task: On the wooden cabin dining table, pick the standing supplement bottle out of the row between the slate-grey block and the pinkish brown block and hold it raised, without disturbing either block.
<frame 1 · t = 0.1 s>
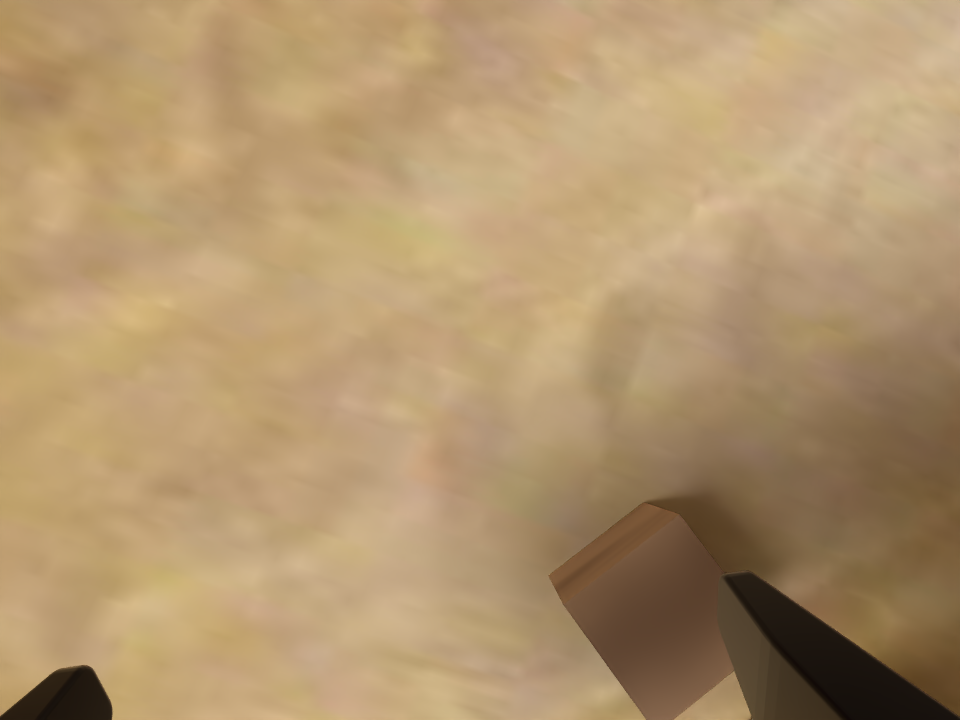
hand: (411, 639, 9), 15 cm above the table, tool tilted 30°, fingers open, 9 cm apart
pinkish brown block: (633, 588, 24), on the table
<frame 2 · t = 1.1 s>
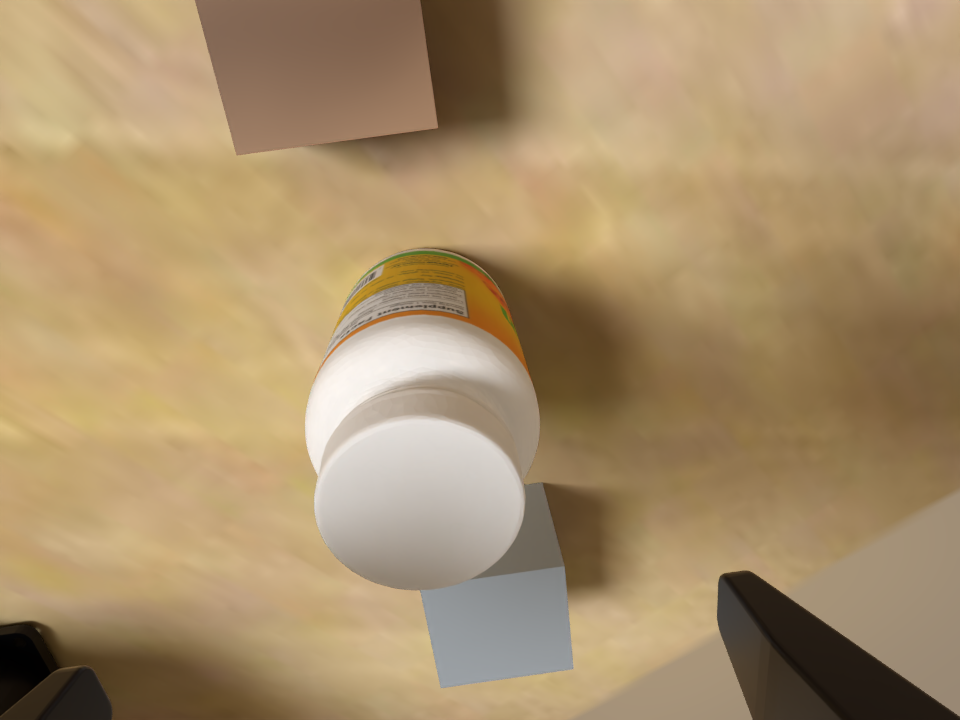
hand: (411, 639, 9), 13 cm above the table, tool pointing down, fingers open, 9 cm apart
supplement bottle: (427, 323, 21), on the table
pinkish brown block: (342, 40, 17), on the table
slate block: (489, 537, 24), on the table
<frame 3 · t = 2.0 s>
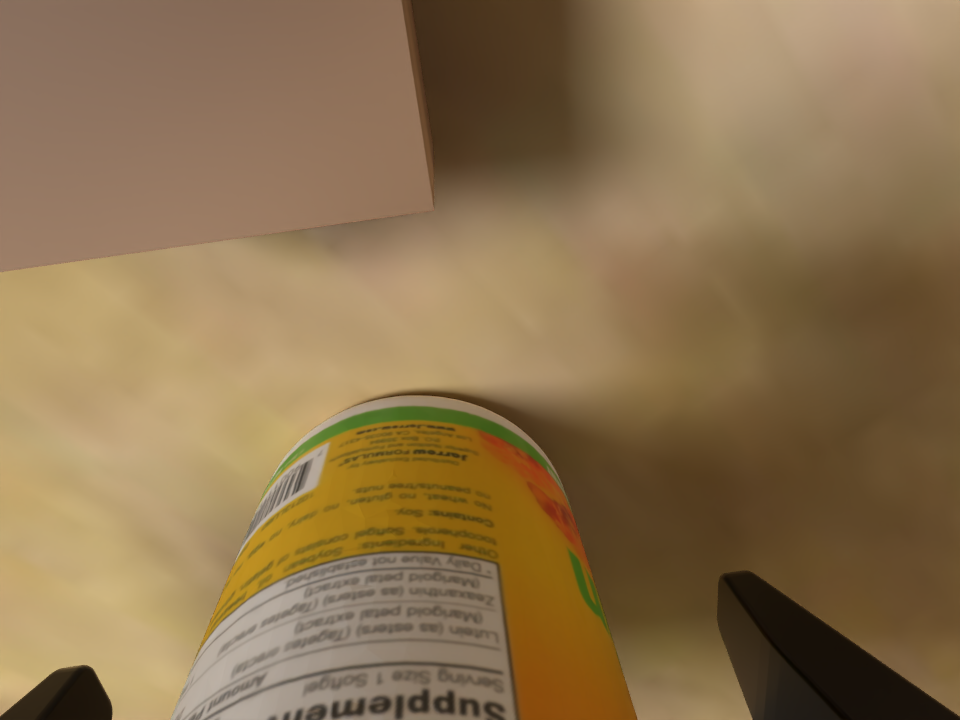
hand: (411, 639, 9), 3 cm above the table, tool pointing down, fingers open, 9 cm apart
supplement bottle: (418, 511, 12), on the table
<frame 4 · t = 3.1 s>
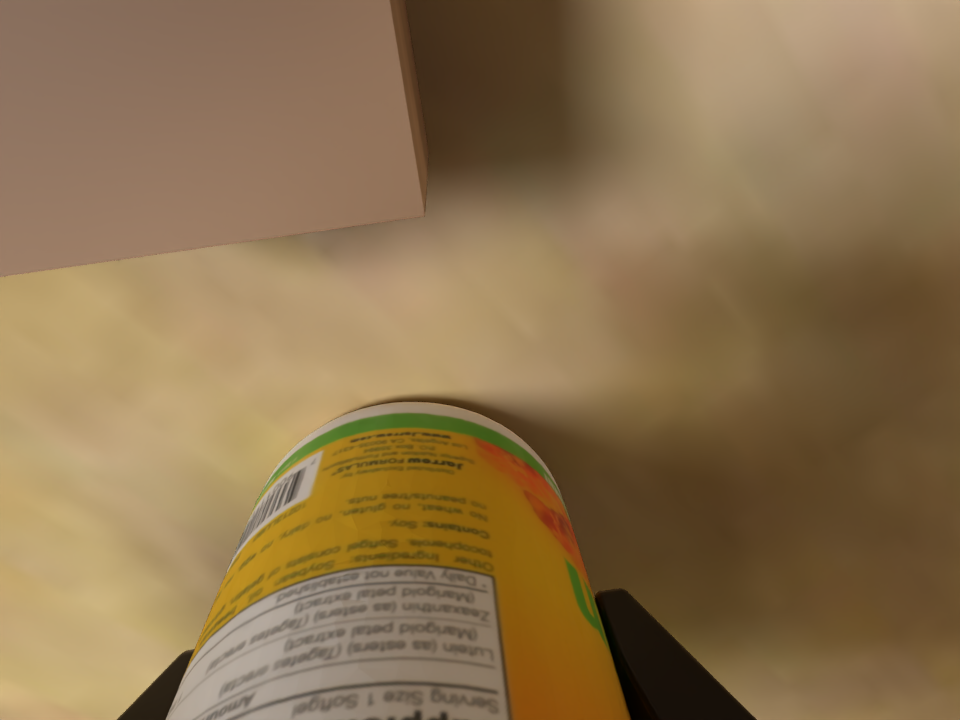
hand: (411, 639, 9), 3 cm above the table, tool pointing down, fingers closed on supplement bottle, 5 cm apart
supplement bottle: (414, 518, 12), on the table, touching gripper
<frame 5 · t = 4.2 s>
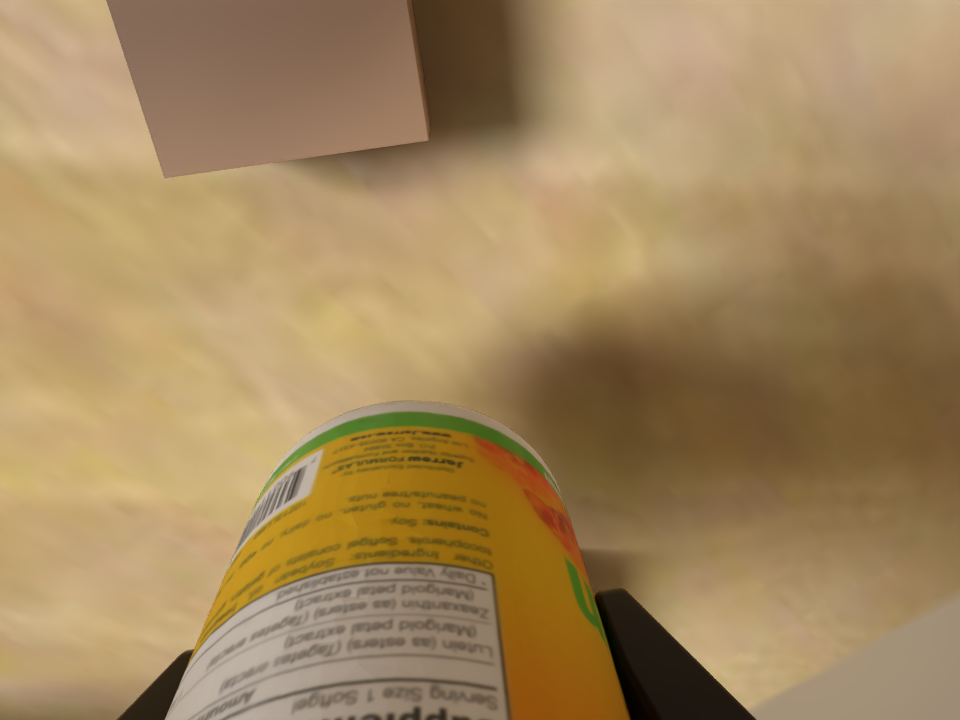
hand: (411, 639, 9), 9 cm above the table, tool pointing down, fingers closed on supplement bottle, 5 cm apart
supplement bottle: (414, 517, 12), point 6 cm above the table, touching gripper
pinkish brown block: (312, 28, 14), on the table
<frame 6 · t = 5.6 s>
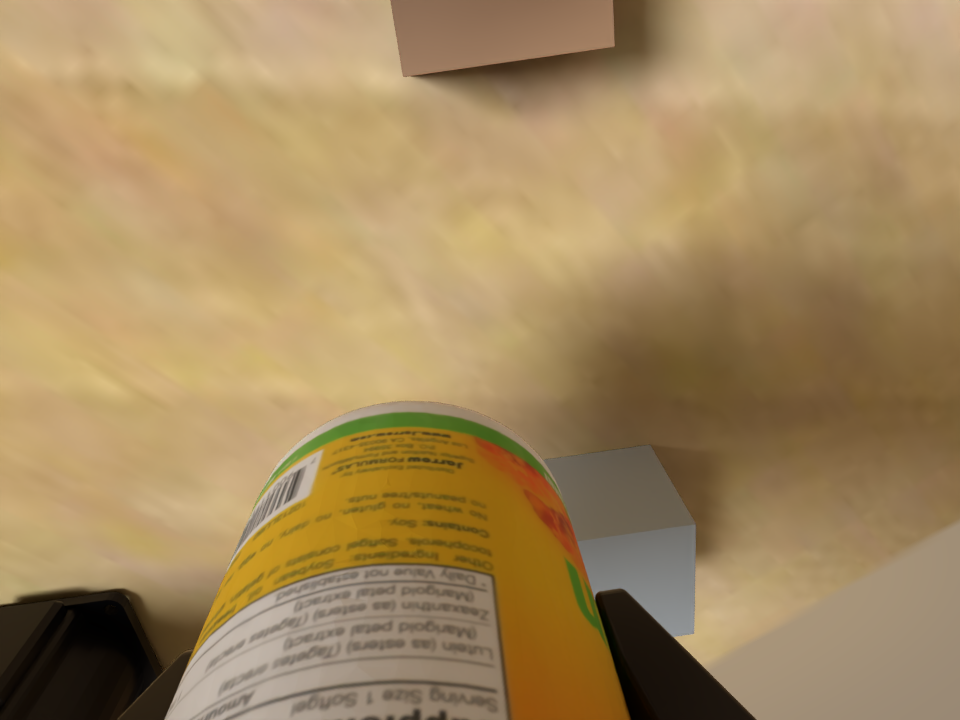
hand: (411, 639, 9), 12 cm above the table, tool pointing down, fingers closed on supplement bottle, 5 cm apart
supplement bottle: (414, 517, 12), point 10 cm above the table, touching gripper
slate block: (591, 502, 24), on the table
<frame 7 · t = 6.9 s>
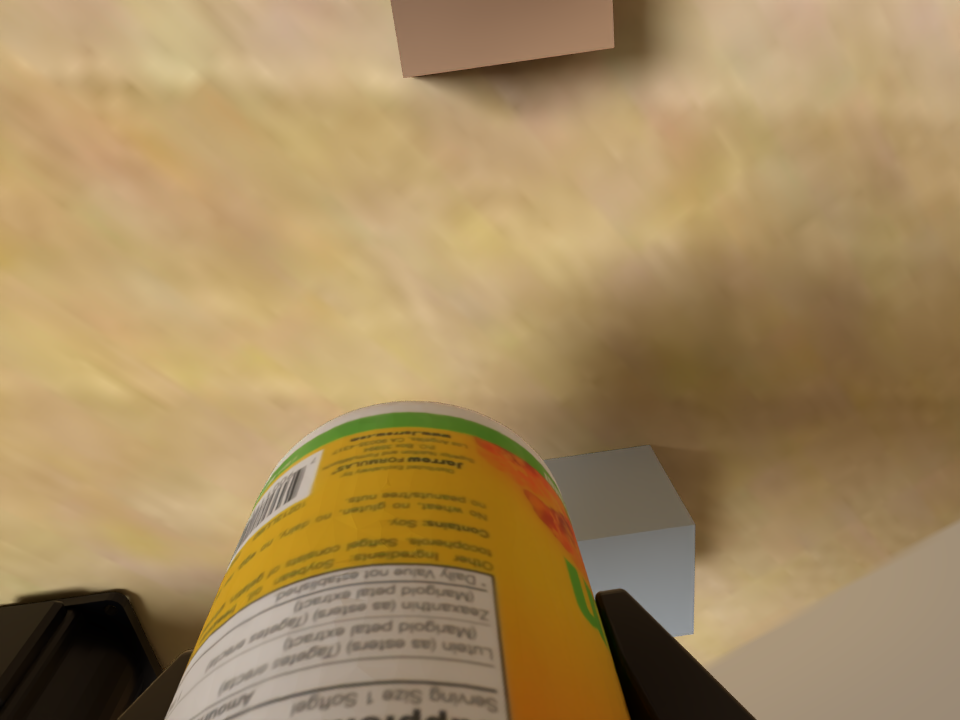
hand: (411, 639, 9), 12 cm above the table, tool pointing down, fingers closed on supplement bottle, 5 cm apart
supplement bottle: (414, 517, 12), point 10 cm above the table, touching gripper
slate block: (590, 502, 24), on the table
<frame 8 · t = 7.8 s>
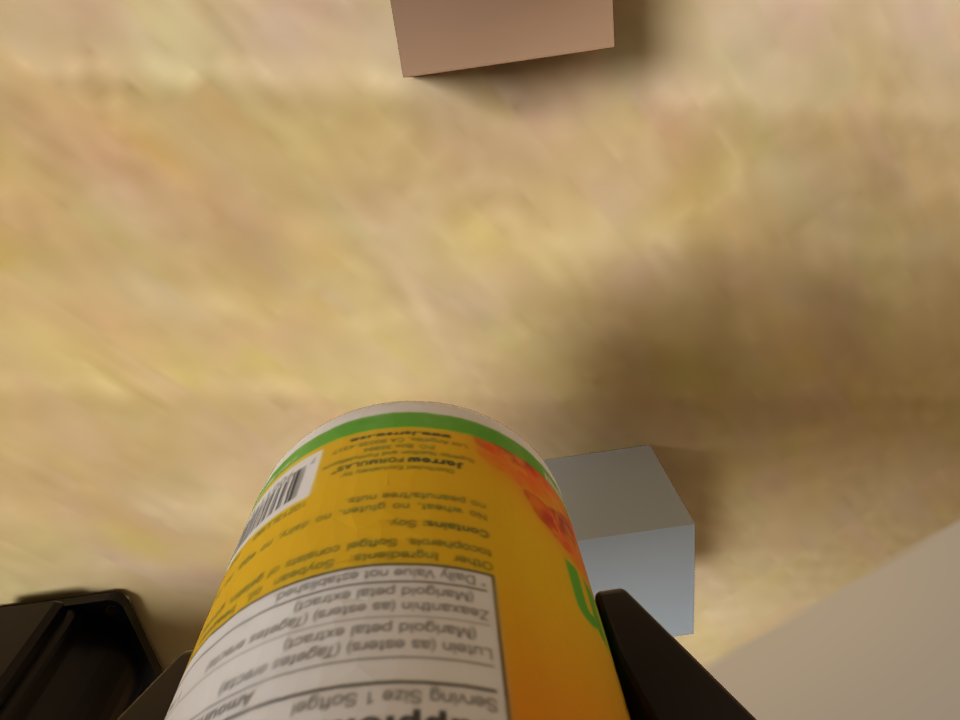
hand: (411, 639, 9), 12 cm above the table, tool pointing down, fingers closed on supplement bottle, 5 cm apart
supplement bottle: (414, 517, 12), point 10 cm above the table, touching gripper
slate block: (590, 502, 24), on the table
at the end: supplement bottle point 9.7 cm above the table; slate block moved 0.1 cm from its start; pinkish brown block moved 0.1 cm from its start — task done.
